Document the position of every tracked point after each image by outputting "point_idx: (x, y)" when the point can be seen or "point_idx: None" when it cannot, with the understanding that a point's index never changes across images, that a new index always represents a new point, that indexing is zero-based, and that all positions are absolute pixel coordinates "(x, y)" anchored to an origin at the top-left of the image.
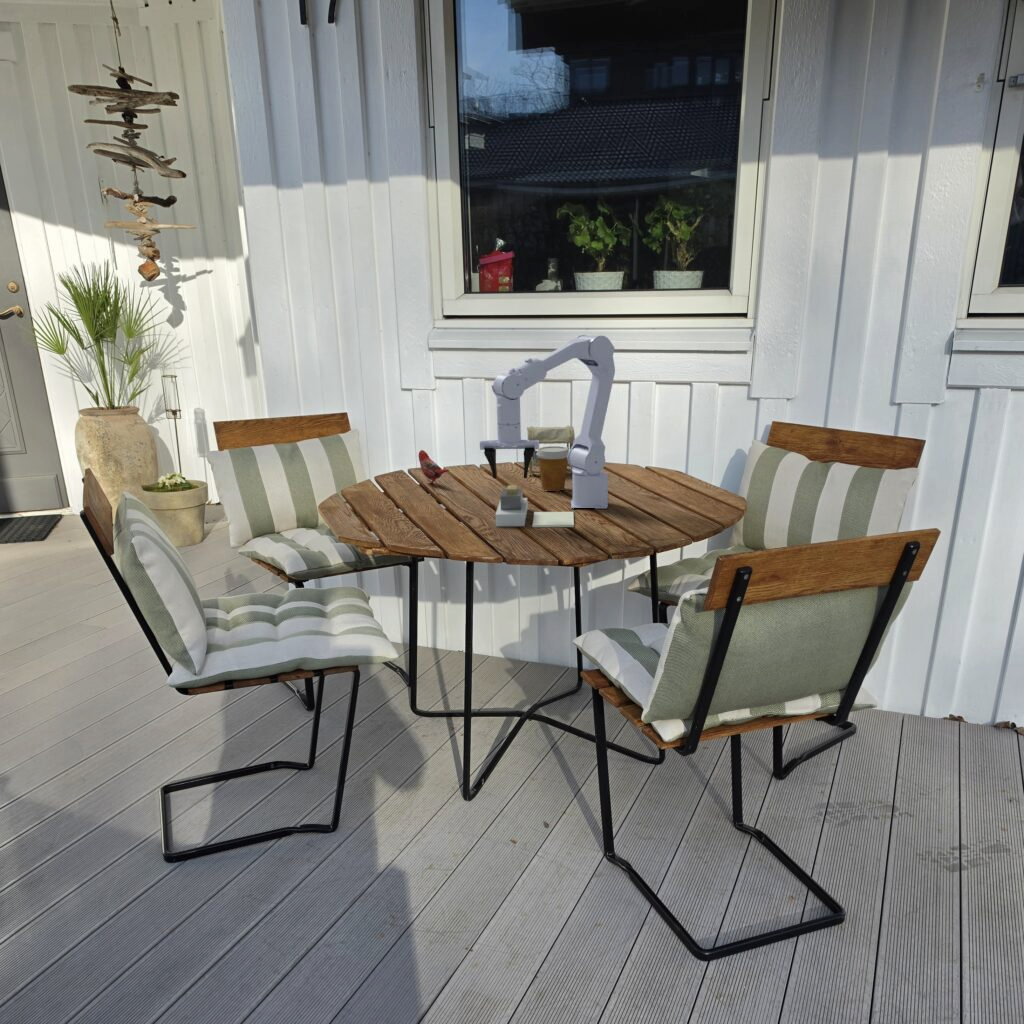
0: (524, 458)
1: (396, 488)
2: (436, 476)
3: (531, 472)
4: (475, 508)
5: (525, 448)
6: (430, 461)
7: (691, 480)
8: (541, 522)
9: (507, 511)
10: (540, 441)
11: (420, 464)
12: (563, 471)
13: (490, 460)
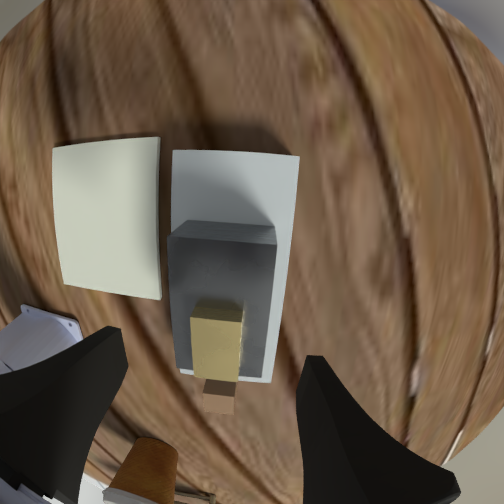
0: (23, 398)
1: (438, 448)
2: None
3: (210, 499)
4: (344, 367)
5: (5, 477)
6: None
7: None
8: (129, 171)
9: (245, 200)
10: None
11: None
12: (121, 467)
13: (381, 449)
